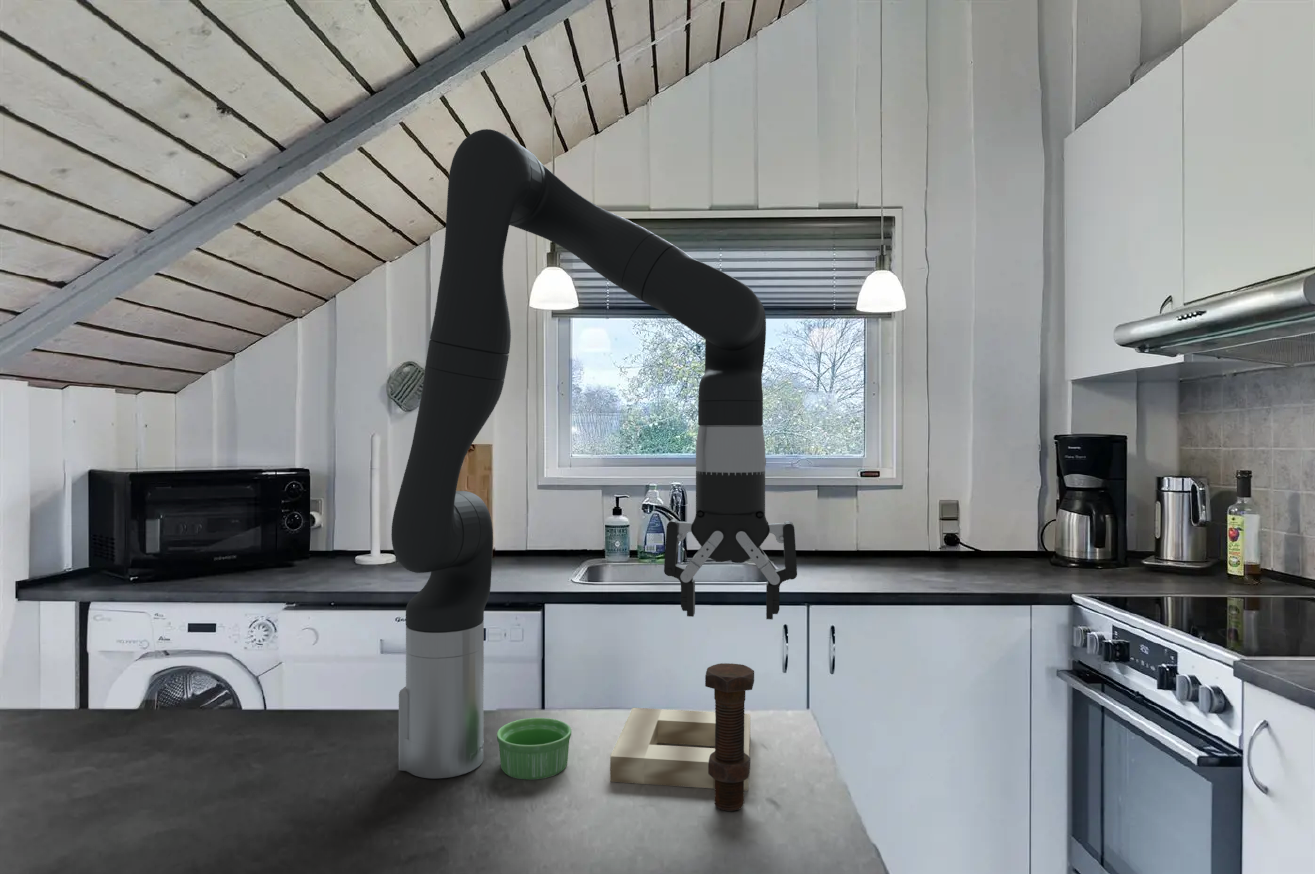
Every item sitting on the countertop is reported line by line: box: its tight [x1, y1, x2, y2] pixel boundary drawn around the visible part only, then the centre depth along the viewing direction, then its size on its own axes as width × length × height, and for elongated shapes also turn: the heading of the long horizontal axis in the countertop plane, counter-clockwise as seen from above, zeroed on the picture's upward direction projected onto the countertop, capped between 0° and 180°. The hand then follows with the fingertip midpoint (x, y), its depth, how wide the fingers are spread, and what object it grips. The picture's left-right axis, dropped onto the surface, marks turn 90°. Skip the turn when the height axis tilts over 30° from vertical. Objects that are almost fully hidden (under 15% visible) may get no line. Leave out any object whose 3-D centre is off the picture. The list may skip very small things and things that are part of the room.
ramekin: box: [496, 717, 572, 781], centre depth 97 cm, size 9×9×4 cm
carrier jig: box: [609, 707, 751, 792], centre depth 99 cm, size 16×16×3 cm
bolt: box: [704, 662, 755, 812], centre depth 86 cm, size 6×5×15 cm
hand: (730, 616), depth 86 cm, fingers open, 8 cm apart
